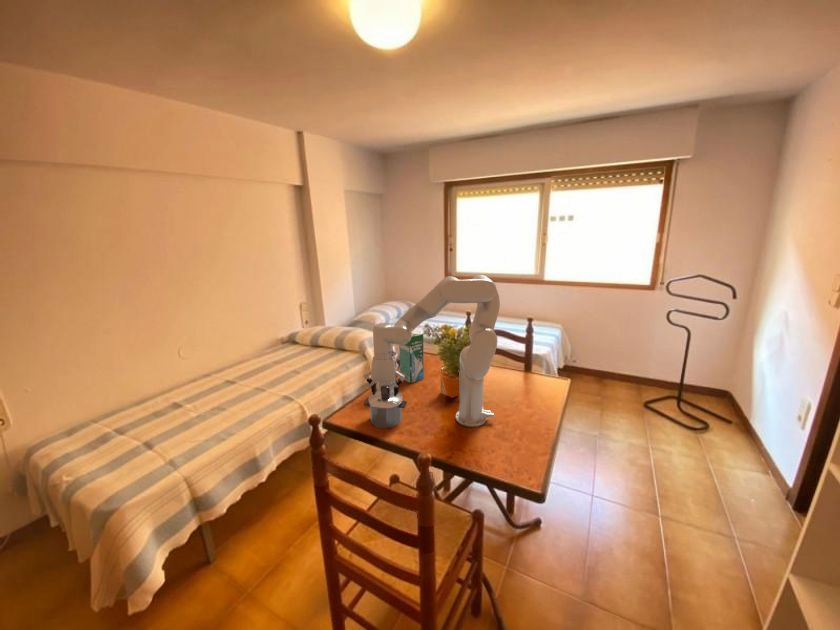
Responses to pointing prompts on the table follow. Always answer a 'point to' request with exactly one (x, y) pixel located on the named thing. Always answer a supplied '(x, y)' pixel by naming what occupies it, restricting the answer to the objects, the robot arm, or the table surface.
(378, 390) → the supplement tub
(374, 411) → the stockpot
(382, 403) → the lid
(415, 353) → the milk carton
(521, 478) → the table surface
